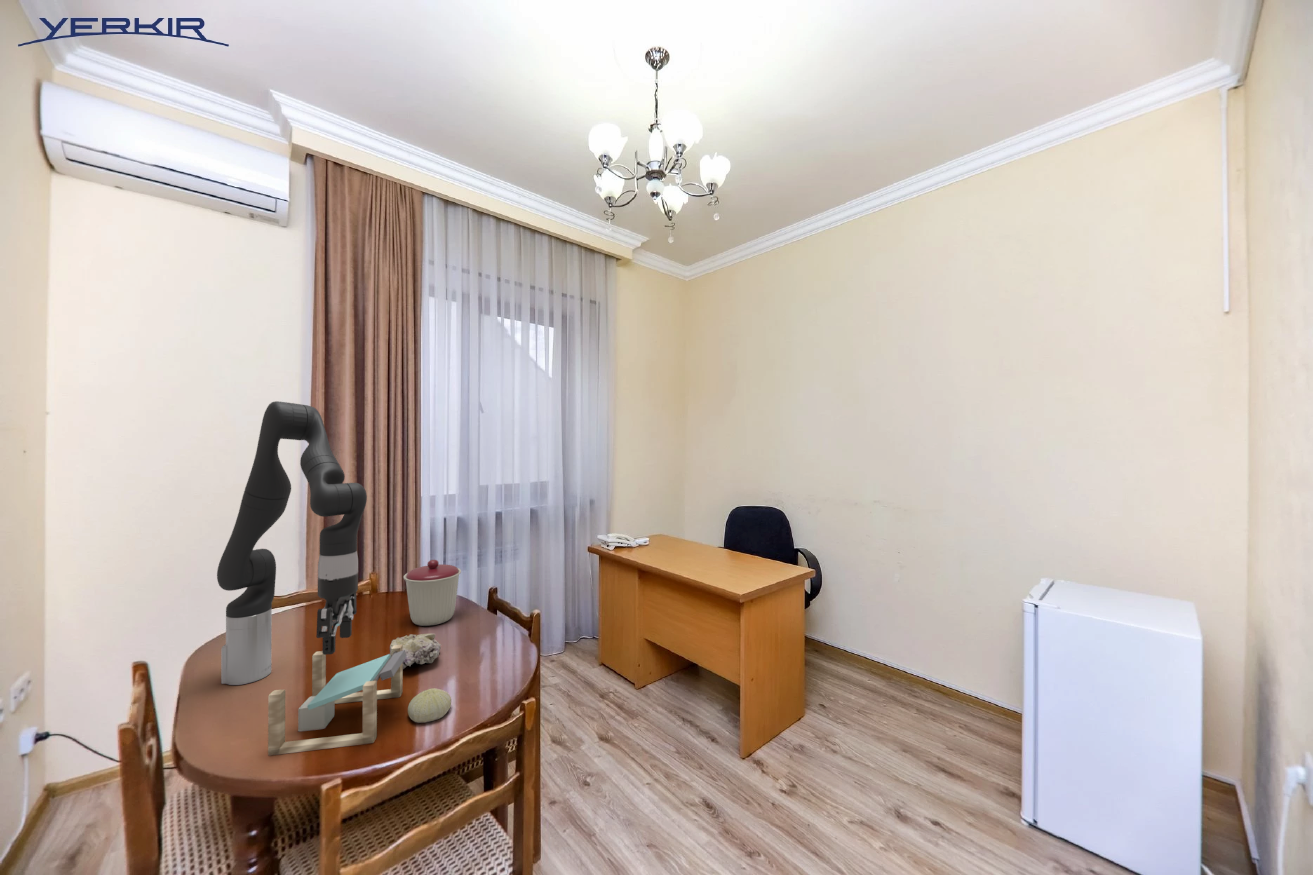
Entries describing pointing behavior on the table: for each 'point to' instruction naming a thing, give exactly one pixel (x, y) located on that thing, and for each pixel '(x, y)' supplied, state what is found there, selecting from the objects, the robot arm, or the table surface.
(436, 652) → the geode
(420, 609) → the canister
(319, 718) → the grey cube
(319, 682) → the frame
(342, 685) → the trapdoor
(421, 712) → the sea urchin shell
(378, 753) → the table surface
